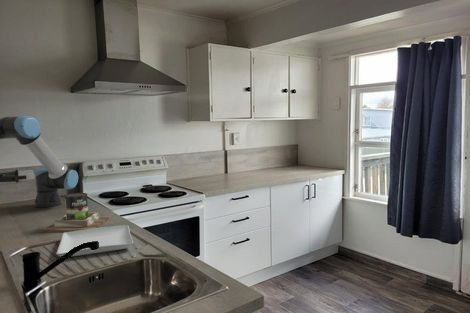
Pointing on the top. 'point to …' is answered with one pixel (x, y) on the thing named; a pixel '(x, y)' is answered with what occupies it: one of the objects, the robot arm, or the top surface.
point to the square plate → (105, 236)
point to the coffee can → (76, 206)
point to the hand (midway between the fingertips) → (34, 174)
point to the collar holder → (76, 223)
